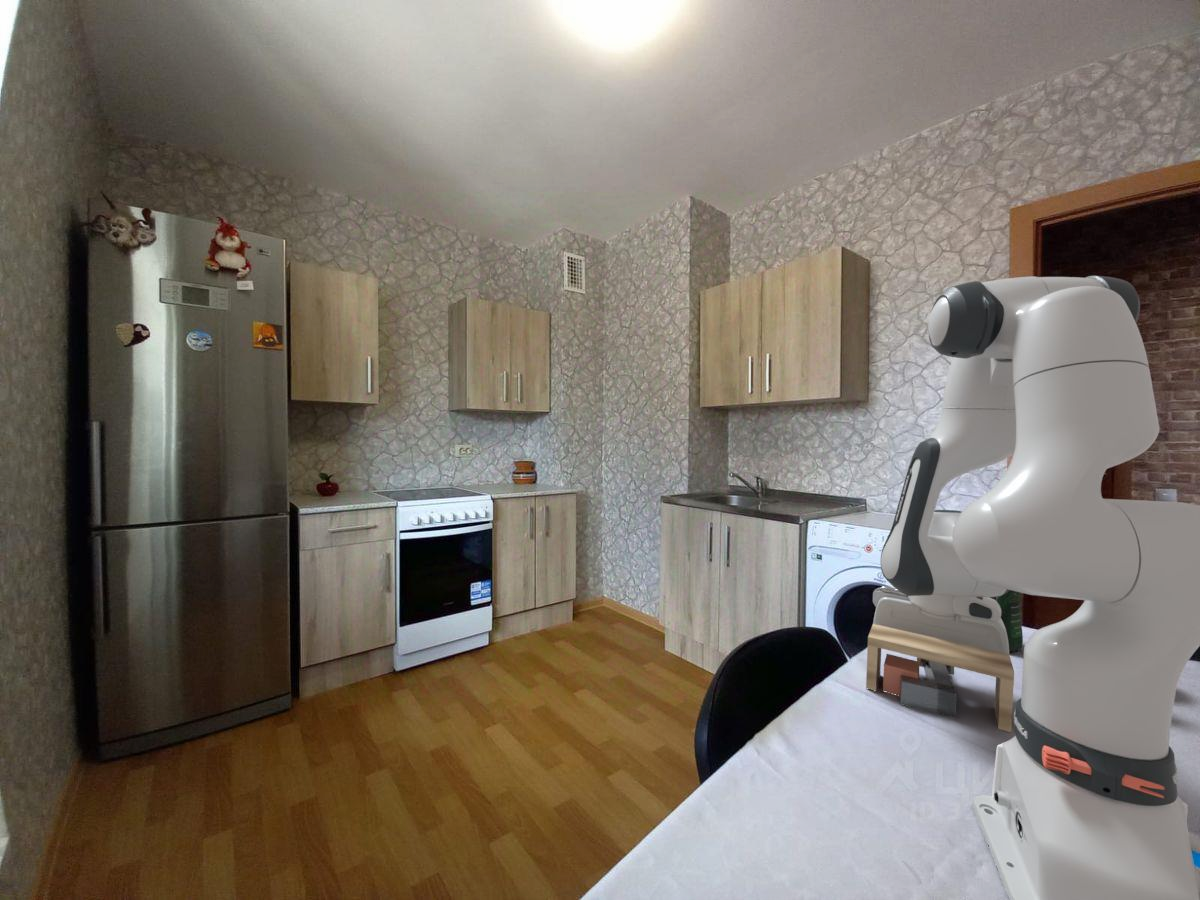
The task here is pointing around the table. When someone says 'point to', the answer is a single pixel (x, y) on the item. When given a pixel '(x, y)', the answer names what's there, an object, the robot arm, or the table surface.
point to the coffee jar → (1011, 618)
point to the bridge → (945, 662)
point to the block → (898, 672)
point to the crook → (930, 691)
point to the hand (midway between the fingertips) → (935, 669)
